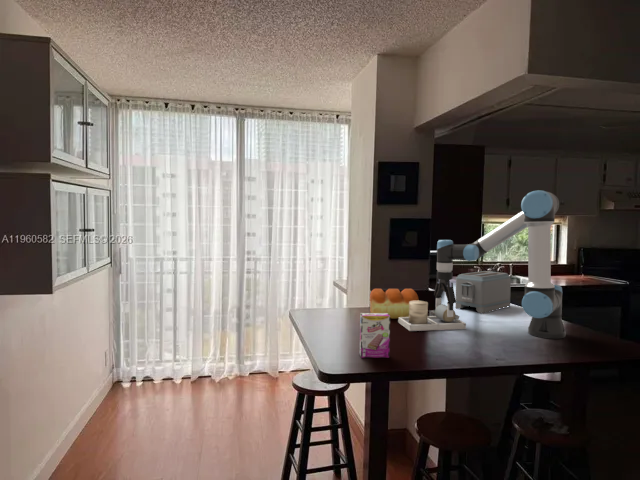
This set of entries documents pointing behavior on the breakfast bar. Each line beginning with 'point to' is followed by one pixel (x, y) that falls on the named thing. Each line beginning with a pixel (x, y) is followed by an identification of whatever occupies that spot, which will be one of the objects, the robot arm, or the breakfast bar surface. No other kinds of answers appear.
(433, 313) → the button housing
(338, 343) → the breakfast bar surface
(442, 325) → the white divided tray
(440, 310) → the ceramic mug
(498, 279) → the toaster
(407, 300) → the bread
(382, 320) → the candy bar box
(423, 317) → the cylinder
